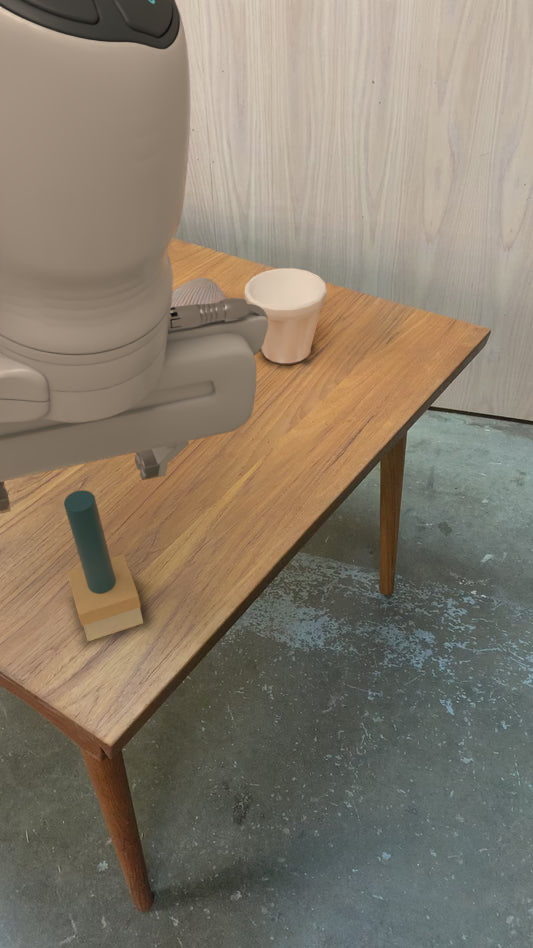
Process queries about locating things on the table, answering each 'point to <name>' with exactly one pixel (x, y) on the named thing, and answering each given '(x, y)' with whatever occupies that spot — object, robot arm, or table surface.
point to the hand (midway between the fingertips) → (75, 486)
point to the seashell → (197, 293)
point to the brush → (99, 574)
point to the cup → (287, 311)
